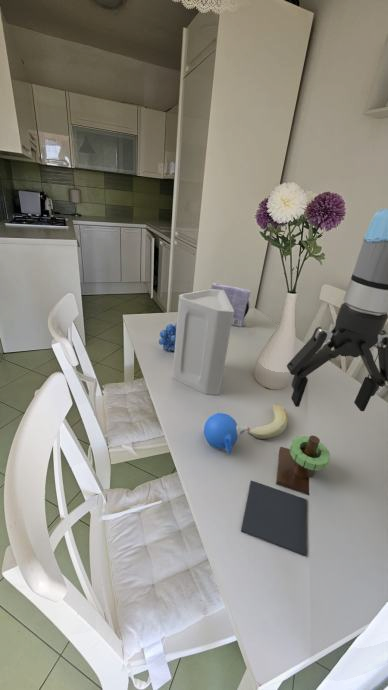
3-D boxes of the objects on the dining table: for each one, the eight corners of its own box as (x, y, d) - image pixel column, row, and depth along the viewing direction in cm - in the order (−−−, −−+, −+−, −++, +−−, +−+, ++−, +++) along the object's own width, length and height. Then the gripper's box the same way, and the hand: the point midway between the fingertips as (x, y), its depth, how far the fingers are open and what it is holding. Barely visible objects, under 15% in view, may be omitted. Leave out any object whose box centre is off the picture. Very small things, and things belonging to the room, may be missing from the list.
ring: (326, 448, 71) (328, 442, 70) (328, 475, 64) (331, 469, 63) (290, 437, 73) (292, 432, 72) (289, 462, 66) (291, 457, 65)
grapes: (187, 346, 122) (190, 319, 116) (188, 355, 116) (191, 326, 110) (158, 344, 120) (160, 316, 115) (157, 353, 114) (159, 324, 109)
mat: (305, 500, 65) (306, 499, 65) (305, 556, 55) (306, 555, 55) (250, 481, 68) (250, 480, 68) (240, 531, 58) (241, 530, 58)
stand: (324, 463, 75) (338, 430, 70) (327, 501, 66) (344, 466, 60) (279, 449, 78) (290, 416, 72) (275, 484, 68) (287, 448, 63)
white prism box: (172, 361, 111) (178, 286, 98) (212, 363, 112) (223, 290, 99) (172, 393, 94) (180, 308, 81) (219, 395, 95) (234, 311, 82)
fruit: (295, 421, 88) (298, 412, 87) (269, 447, 78) (272, 438, 76) (273, 408, 92) (275, 400, 91) (246, 432, 82) (248, 423, 80)
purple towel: (245, 324, 148) (252, 289, 140) (244, 328, 144) (251, 292, 135) (208, 316, 152) (212, 281, 144) (205, 319, 148) (210, 284, 140)
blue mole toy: (255, 459, 74) (262, 433, 70) (208, 464, 71) (213, 437, 67) (239, 424, 84) (244, 400, 80) (197, 427, 81) (201, 402, 78)
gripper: (418, 306, 57) (375, 397, 66) (288, 293, 55) (263, 389, 65) (449, 322, 50) (396, 421, 60) (302, 308, 48) (272, 412, 58)
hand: (327, 404), depth 62 cm, fingers open, 13 cm apart
